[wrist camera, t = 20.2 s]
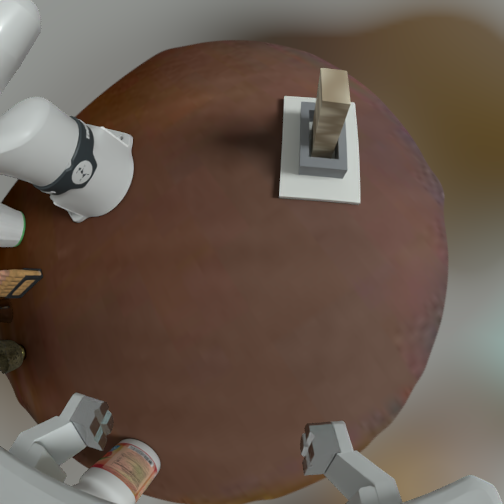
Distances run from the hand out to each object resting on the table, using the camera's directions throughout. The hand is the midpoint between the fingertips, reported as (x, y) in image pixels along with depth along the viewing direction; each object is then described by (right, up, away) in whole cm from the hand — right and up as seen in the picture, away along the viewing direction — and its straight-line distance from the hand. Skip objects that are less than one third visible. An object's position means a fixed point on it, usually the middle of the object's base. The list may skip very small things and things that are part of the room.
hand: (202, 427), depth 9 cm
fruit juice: (-20, -32, +31) cm, 48 cm away
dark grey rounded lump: (-50, -16, +35) cm, 64 cm away
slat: (+12, +23, +31) cm, 41 cm away
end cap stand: (+13, +23, +32) cm, 41 cm away
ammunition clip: (-45, 0, +36) cm, 58 cm away
